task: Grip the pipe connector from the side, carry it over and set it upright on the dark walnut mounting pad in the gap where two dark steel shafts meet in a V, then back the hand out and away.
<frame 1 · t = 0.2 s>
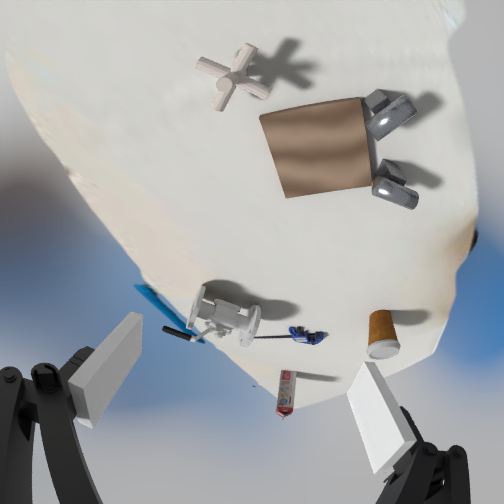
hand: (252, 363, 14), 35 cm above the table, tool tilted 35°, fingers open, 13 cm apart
bar clamp: (273, 333, 87), on the table
pipe connector: (240, 71, 33), on the table
steel shaft B: (385, 171, 41), on the table
valve: (218, 294, 74), on the table
mounting pad: (319, 148, 40), on the table
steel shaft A: (378, 104, 33), on the table
disposable coffee cup: (379, 315, 71), on the table
juice carton: (288, 372, 113), on the table
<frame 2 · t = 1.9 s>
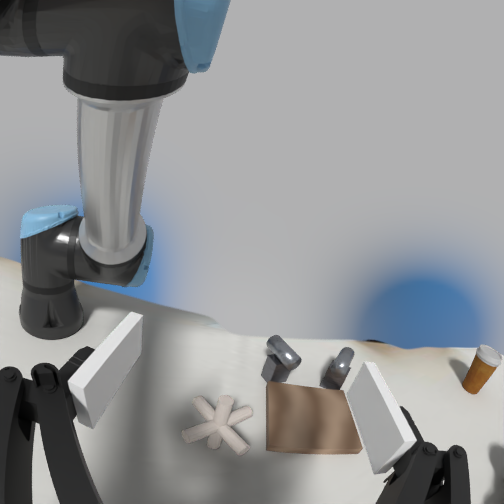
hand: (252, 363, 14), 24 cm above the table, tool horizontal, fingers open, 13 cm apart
pipe connector: (213, 445, 30), on the table
steel shaft B: (330, 386, 49), on the table
mounting pad: (309, 420, 39), on the table
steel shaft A: (273, 378, 48), on the table
disposable coffee cup: (469, 388, 49), on the table
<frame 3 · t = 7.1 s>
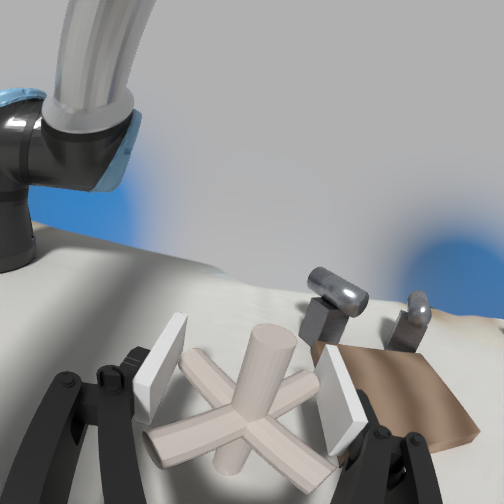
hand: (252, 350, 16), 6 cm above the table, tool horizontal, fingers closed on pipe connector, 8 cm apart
pipe connector: (227, 465, 13), on the table, touching gripper
steel shaft B: (398, 350, 31), on the table
mounting pad: (391, 400, 21), on the table
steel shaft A: (318, 340, 31), on the table
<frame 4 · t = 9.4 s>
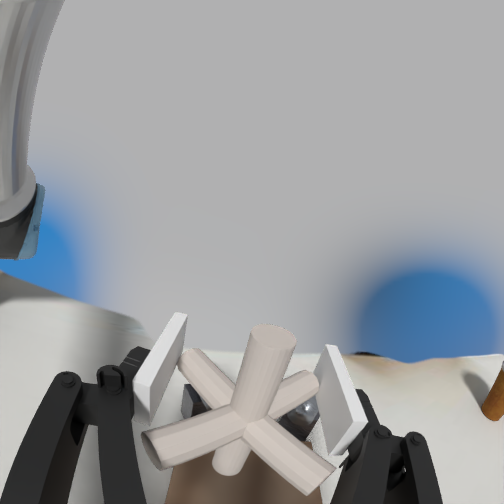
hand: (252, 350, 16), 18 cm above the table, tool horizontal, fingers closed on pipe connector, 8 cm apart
pipe connector: (226, 465, 13), point 12 cm above the table, touching gripper
steel shaft B: (293, 431, 29), on the table
mounting pad: (245, 493, 19), on the table
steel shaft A: (200, 417, 29), on the table
disposable coffee cup: (490, 413, 31), on the table
when the fingers open (9 cm above the table, at t = 11.9 s): pipe connector drops 1 cm, resting on mounting pad.
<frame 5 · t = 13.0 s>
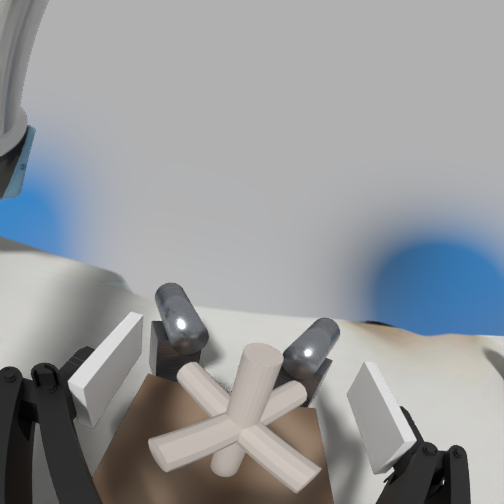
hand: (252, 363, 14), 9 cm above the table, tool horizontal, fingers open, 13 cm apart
pipe connector: (223, 467, 14), point 1 cm above the table, touching mounting pad
steel shaft B: (291, 397, 24), on the table
mounting pad: (219, 474, 14), on the table
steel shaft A: (171, 371, 24), on the table
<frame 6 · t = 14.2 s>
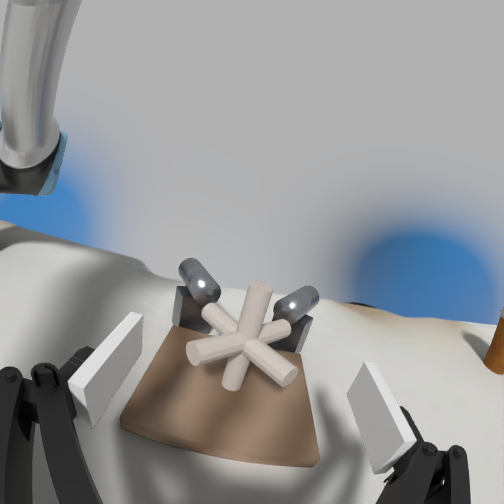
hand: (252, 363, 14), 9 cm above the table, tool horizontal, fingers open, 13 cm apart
pipe connector: (230, 385, 23), point 1 cm above the table, touching mounting pad
steel shaft B: (282, 348, 33), on the table
mounting pad: (227, 394, 23), on the table
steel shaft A: (190, 327, 33), on the table
disposable coffee cup: (493, 367, 34), on the table
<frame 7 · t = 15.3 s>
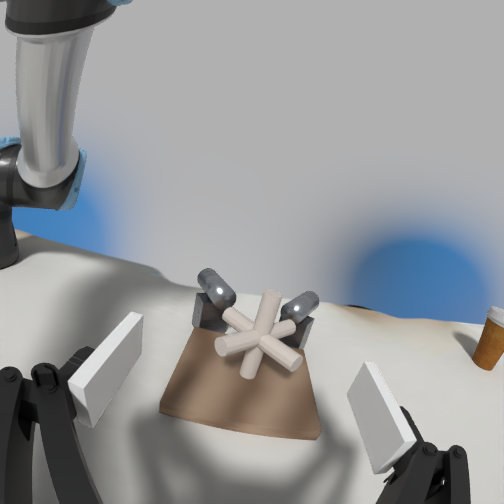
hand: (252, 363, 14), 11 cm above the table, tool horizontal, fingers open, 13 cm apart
pipe connector: (247, 375, 28), point 1 cm above the table, touching mounting pad
steel shaft B: (288, 345, 39), on the table
mounting pad: (243, 383, 28), on the table
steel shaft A: (207, 328, 38), on the table
disposable coffee cup: (482, 364, 39), on the table
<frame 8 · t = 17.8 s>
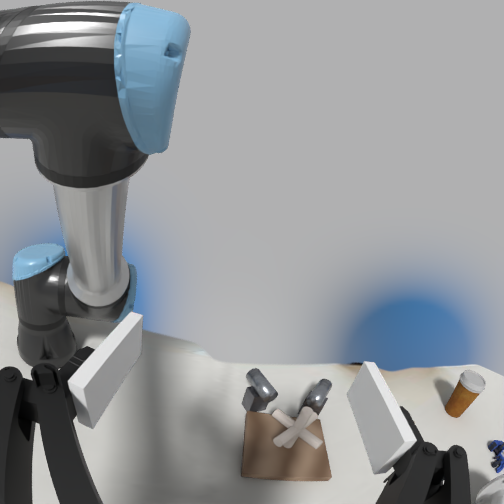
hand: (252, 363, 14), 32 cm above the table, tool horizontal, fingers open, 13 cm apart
pipe connector: (287, 445, 39), point 1 cm above the table, touching mounting pad
steel shaft B: (308, 413, 50), on the table
mounting pad: (284, 448, 39), on the table
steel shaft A: (253, 406, 49), on the table
disposable coffee cup: (452, 411, 51), on the table
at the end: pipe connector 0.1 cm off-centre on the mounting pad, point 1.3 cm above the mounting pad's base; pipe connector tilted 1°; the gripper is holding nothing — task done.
